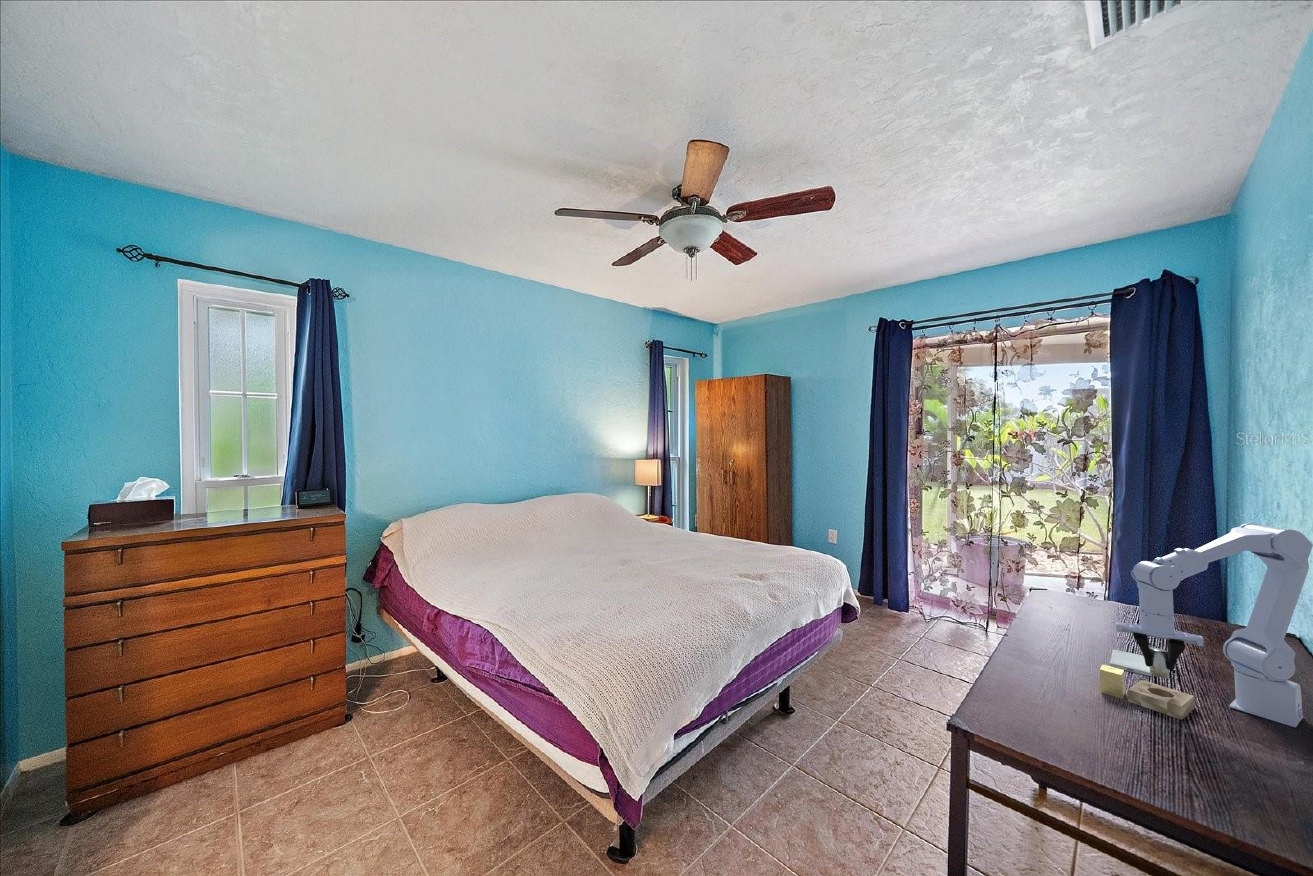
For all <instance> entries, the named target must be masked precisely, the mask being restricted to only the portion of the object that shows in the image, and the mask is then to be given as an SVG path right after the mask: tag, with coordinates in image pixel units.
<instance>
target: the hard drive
mask: <svg viewBox="0 0 1313 876" xmlns="http://www.w3.org/2000/svg"><path fill="white" fill-rule="evenodd" d="M1111 652H1112V653H1111V657H1110V661H1109V666H1111V667H1114V668H1118V669H1122V670H1124V671H1127V672H1132V673H1136V674H1139V675H1144V676H1147V677H1148V676H1149V677H1153V675H1152V674H1150V667H1148V666H1146V664H1145V659H1144V656H1143V654H1142V655H1141V654H1137V653H1132V652H1127V651H1122V650H1118V649H1112V651H1111Z"/></svg>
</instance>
